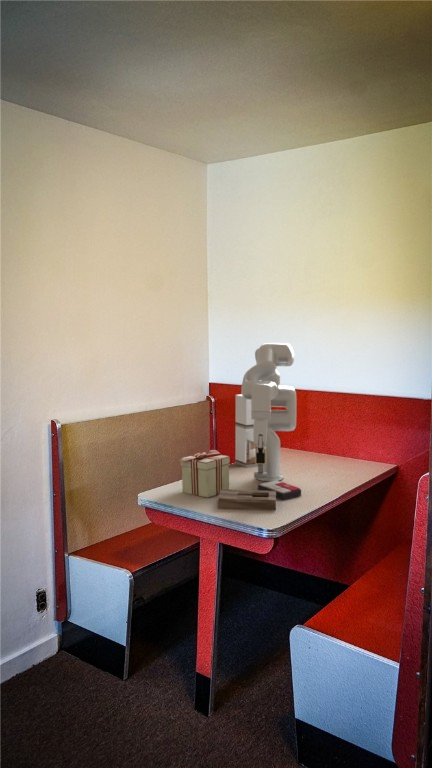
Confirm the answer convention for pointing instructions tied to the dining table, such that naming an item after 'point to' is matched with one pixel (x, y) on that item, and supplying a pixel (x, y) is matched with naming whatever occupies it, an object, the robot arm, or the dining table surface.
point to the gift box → (205, 473)
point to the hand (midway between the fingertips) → (260, 461)
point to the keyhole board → (247, 499)
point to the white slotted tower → (244, 433)
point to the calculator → (281, 489)
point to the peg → (260, 467)
